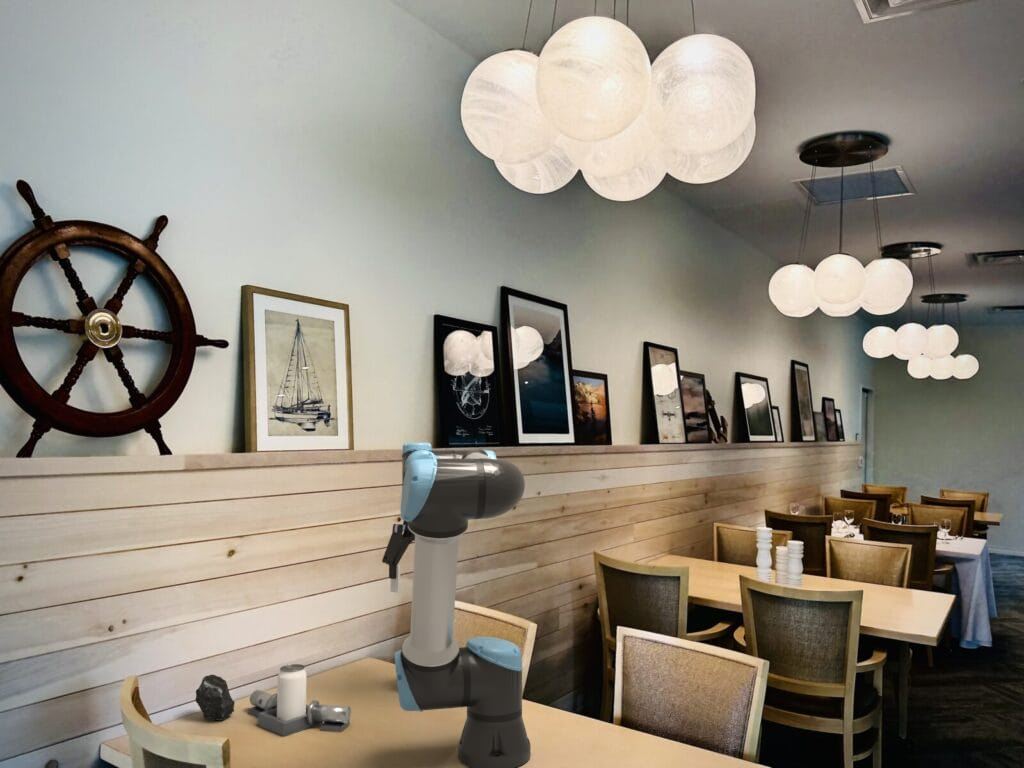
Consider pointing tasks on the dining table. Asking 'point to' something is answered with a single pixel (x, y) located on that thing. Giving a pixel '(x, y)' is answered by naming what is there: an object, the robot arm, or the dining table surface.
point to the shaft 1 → (262, 702)
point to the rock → (214, 698)
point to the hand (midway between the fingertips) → (415, 588)
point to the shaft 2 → (329, 716)
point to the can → (291, 692)
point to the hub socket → (283, 723)
